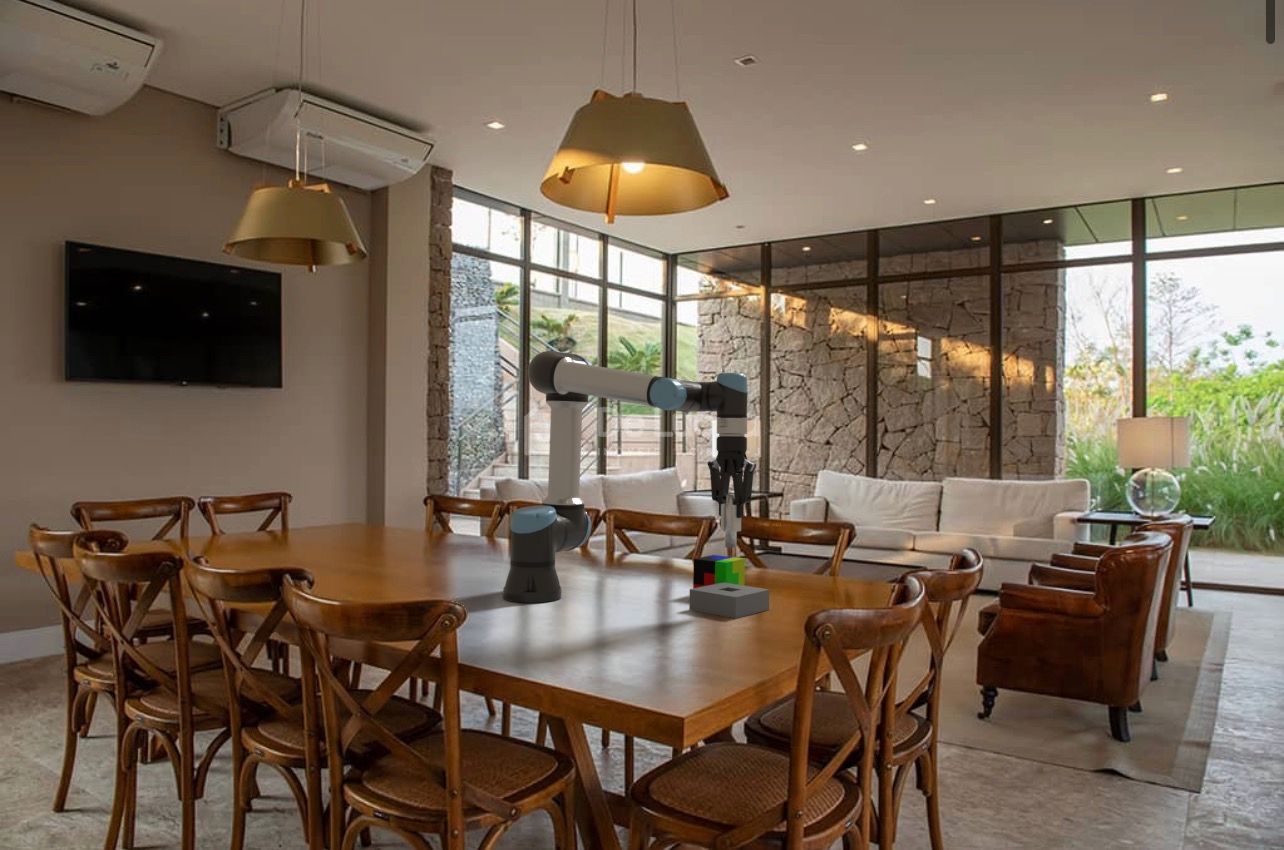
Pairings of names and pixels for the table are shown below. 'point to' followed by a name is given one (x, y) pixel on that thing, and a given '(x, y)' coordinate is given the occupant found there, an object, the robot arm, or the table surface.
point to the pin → (729, 522)
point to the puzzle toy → (718, 570)
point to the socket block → (729, 600)
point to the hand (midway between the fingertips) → (730, 530)
